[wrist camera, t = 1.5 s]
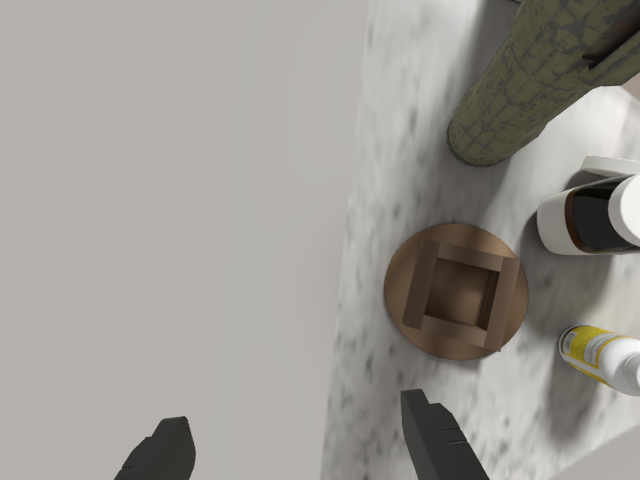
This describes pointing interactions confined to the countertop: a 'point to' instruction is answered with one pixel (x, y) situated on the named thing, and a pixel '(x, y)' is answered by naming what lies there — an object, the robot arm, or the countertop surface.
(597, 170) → the spread jar
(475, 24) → the countertop surface
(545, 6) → the thermos
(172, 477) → the robot arm
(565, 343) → the supplement bottle
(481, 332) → the holder
